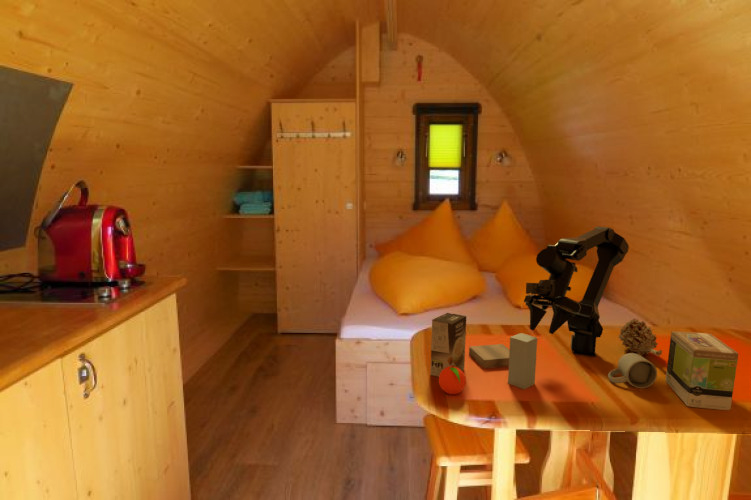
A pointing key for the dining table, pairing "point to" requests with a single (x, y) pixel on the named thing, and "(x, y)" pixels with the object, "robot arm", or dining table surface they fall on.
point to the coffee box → (448, 342)
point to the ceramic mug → (634, 371)
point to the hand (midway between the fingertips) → (540, 331)
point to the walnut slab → (490, 355)
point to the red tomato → (452, 380)
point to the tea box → (701, 370)
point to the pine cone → (639, 338)
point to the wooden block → (522, 360)
